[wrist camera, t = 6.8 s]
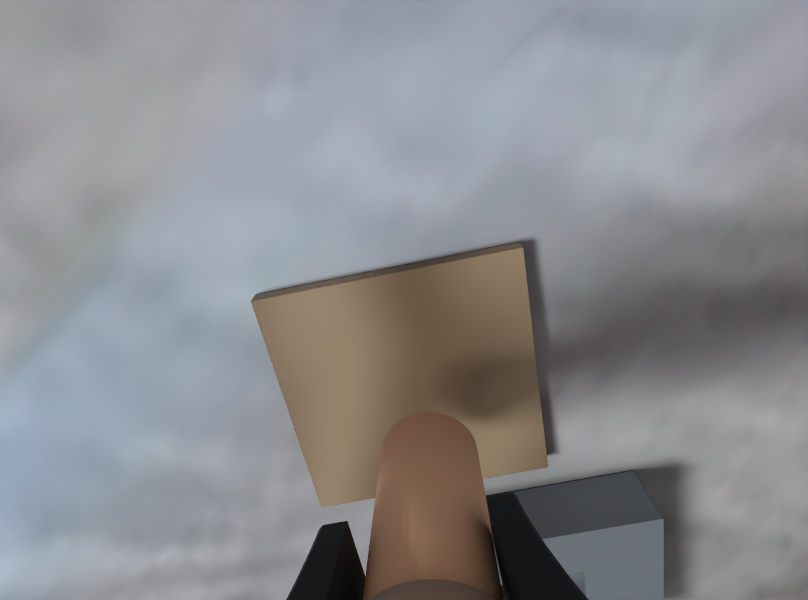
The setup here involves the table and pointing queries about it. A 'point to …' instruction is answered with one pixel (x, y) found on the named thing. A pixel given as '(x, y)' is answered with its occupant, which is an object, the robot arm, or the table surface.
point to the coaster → (407, 363)
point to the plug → (431, 516)
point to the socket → (601, 535)
